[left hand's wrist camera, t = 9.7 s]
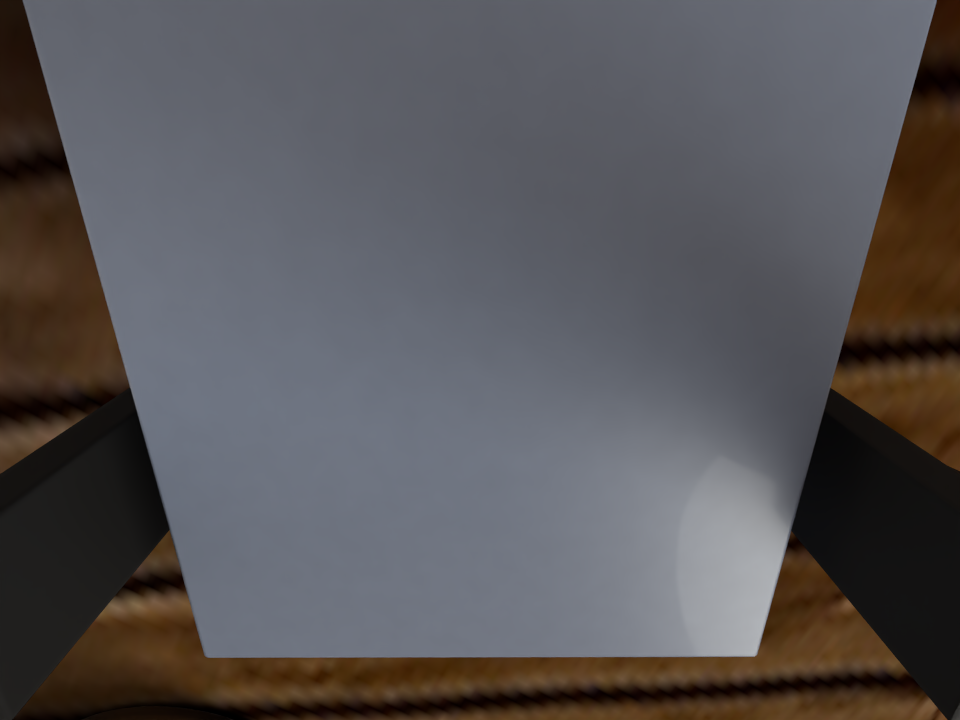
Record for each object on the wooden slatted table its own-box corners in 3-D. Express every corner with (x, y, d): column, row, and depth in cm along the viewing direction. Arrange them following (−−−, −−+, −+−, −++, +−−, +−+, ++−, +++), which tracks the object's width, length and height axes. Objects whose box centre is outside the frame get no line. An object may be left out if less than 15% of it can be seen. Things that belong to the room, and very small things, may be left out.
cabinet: (260, -309, 12) (-539, -1999, 3) (697, -309, 12) (1496, -2010, 3) (341, 407, 19) (203, 659, 10) (619, 406, 19) (758, 658, 10)
